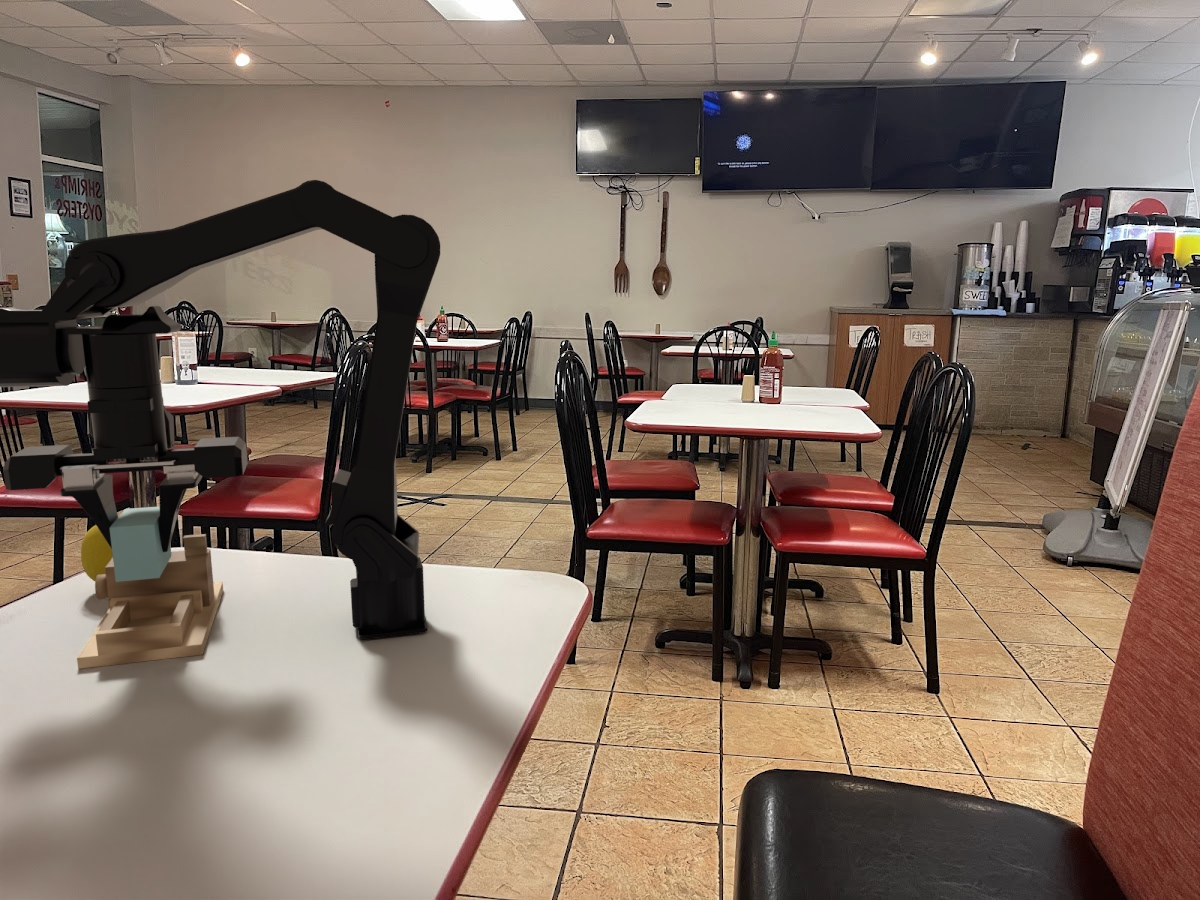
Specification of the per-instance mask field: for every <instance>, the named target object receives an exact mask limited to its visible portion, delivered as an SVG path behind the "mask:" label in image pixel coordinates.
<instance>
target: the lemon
mask: <svg viewBox="0 0 1200 900" xmlns="http://www.w3.org/2000/svg"><path fill="white" fill-rule="evenodd" d="M80 547H81V548H80V559H81V565H82V569H83V571H84V573H85V574H86V575H87V577H89V579H91V580H92V581H93V582H95V581H96V577H97V575H102V574H106V571H105V567H106V566H107V564H108V563H109V562H110V560H111V559H112V558H113V554H112V549H111V547H110V546H109V544H108V543H107V541H106V540H105V538H104V536H103V535H102V533H101V532H100V530H99V529H98V526H96V524H95V525H93V526H92V527H91V528H90V529H89V530H87V532H86V533H85V534H84V536H83V539H82V542H81V546H80Z"/></svg>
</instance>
